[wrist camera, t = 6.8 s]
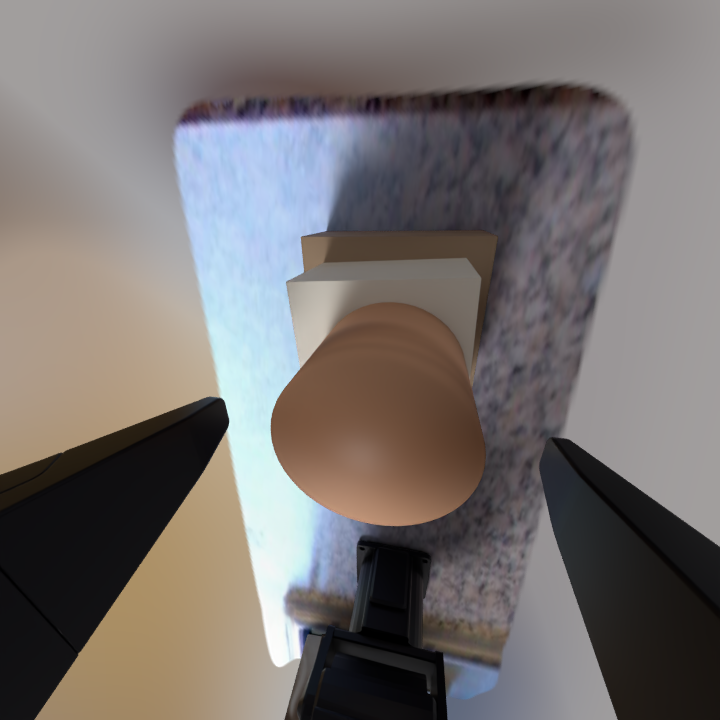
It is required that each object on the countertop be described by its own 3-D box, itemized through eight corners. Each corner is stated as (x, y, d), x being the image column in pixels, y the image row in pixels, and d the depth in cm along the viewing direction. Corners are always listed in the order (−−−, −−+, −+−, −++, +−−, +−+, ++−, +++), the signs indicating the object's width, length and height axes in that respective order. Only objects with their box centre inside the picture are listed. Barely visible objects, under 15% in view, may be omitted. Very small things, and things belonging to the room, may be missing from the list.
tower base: (460, 371, 19) (468, 408, 15) (335, 361, 20) (315, 393, 17) (482, 229, 15) (497, 236, 12) (328, 230, 17) (300, 236, 13)
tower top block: (455, 386, 15) (462, 442, 11) (336, 380, 16) (310, 429, 12) (466, 257, 12) (481, 278, 9) (323, 262, 13) (286, 281, 10)
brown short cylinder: (456, 436, 11) (469, 540, 8) (327, 422, 12) (285, 508, 9) (475, 304, 9) (506, 365, 5) (315, 300, 10) (253, 349, 6)
